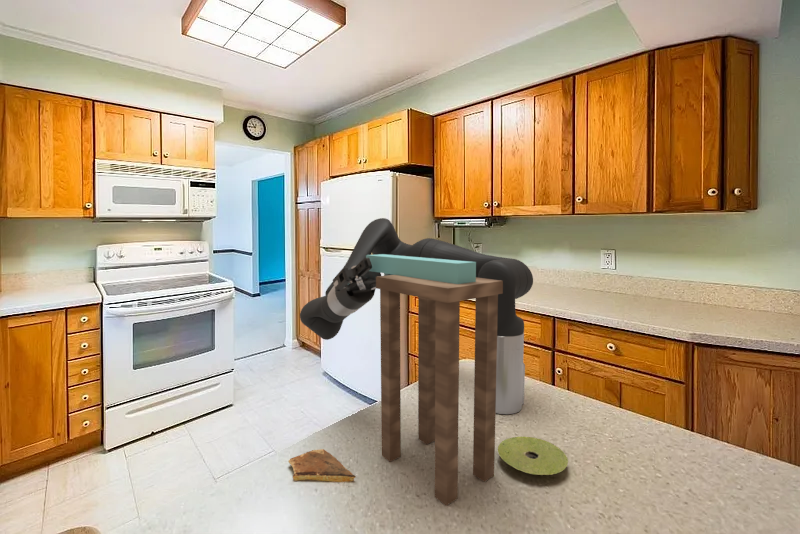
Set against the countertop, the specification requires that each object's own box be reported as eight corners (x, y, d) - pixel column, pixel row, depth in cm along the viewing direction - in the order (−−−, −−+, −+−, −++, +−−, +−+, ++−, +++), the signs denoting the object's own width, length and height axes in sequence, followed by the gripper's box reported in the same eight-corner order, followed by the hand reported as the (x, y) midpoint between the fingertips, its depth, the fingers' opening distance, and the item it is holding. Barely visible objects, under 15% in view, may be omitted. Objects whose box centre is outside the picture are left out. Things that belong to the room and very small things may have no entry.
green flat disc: (490, 446, 71) (490, 436, 71) (550, 445, 72) (550, 435, 72) (508, 486, 60) (509, 475, 60) (580, 485, 61) (580, 473, 60)
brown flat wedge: (356, 485, 62) (356, 474, 61) (312, 506, 57) (311, 495, 57) (323, 454, 70) (323, 445, 70) (282, 471, 65) (282, 461, 65)
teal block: (383, 269, 77) (382, 254, 77) (475, 281, 59) (476, 262, 58) (366, 270, 75) (366, 255, 75) (457, 284, 56) (457, 263, 56)
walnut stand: (427, 433, 76) (428, 271, 73) (498, 476, 63) (502, 280, 60) (377, 455, 69) (375, 276, 66) (446, 509, 55) (447, 288, 52)
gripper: (316, 281, 81) (350, 244, 69) (372, 275, 90) (411, 242, 78) (325, 314, 79) (362, 282, 67) (382, 305, 88) (423, 275, 76)
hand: (388, 260), depth 73 cm, fingers open, 8 cm apart
